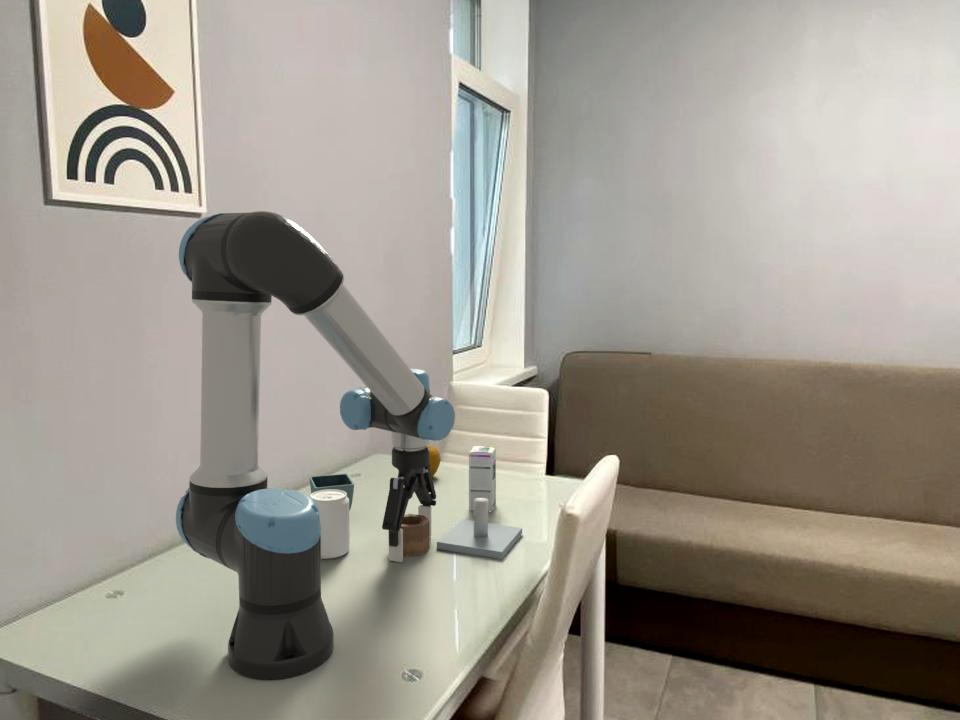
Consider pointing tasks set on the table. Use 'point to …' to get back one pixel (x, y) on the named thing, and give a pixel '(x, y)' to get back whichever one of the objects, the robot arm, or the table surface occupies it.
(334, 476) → the flower pot
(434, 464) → the apple
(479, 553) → the post block
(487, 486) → the syrup box
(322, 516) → the beverage can
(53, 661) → the table surface
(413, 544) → the collar
